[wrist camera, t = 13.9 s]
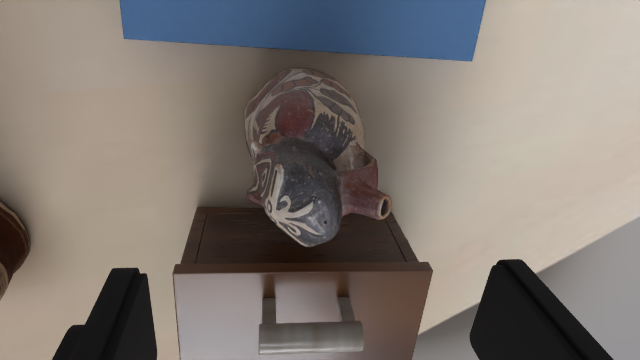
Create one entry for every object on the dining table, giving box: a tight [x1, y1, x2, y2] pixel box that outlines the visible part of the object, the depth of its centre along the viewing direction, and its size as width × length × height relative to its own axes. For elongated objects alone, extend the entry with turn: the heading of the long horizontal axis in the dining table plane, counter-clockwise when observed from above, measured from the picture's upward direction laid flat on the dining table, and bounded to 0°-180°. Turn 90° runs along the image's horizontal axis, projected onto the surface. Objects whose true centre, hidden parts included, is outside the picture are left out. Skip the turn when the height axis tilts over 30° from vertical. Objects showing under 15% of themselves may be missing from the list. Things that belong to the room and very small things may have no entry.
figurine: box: [244, 68, 391, 247], centre depth 21 cm, size 7×7×12 cm
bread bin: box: [180, 208, 419, 264], centre depth 28 cm, size 11×14×7 cm
